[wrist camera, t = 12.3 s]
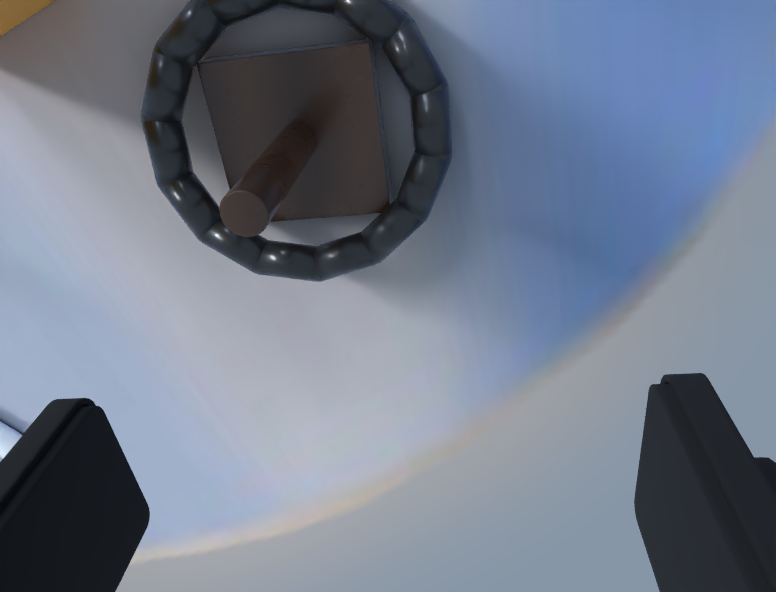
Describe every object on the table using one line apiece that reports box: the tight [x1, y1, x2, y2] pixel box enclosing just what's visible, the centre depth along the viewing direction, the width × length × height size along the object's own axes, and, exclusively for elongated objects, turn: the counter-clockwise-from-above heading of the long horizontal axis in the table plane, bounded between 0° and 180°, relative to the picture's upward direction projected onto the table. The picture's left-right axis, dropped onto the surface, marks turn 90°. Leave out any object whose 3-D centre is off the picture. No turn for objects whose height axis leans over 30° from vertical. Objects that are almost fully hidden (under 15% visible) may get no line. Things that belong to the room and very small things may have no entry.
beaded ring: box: [141, 0, 452, 282], centre depth 32 cm, size 16×16×2 cm
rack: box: [197, 39, 393, 237], centre depth 29 cm, size 9×9×12 cm
